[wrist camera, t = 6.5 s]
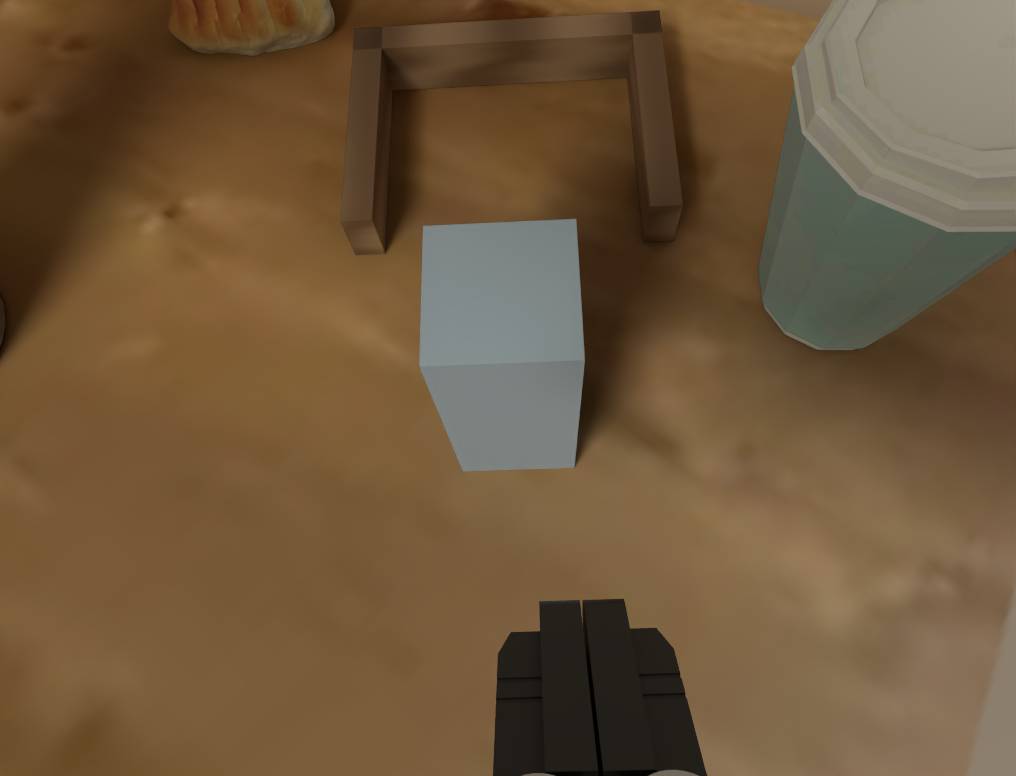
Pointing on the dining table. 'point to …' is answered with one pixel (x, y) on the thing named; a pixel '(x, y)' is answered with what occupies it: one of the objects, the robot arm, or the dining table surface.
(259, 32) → the pastry
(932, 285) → the disposable coffee cup
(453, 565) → the dining table surface
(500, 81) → the walnut bay
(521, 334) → the slate block
